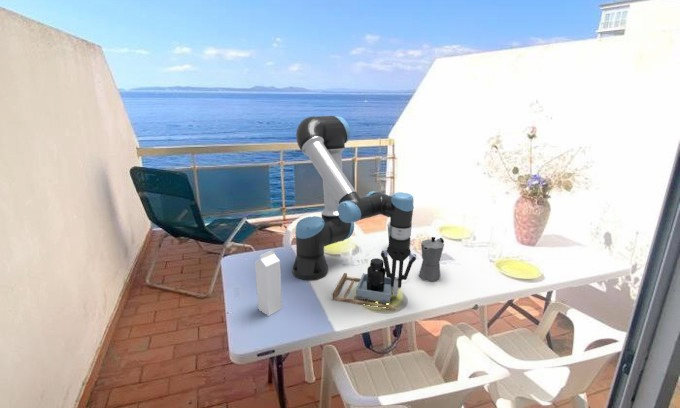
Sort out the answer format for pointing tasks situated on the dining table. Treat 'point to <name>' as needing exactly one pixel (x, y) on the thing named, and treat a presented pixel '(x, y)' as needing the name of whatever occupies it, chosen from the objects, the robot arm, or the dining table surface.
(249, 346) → the dining table surface
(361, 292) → the shallow square tray
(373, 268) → the supplement bottle
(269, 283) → the milk
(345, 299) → the wooden rack
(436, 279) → the coffeepot
